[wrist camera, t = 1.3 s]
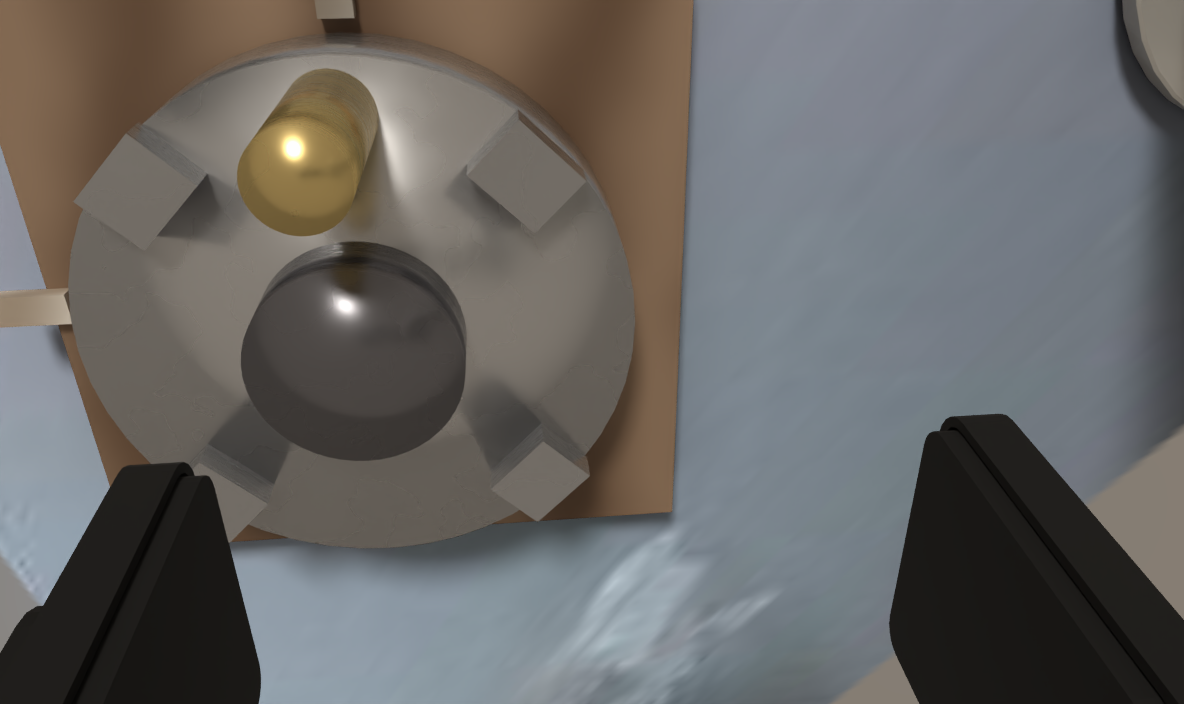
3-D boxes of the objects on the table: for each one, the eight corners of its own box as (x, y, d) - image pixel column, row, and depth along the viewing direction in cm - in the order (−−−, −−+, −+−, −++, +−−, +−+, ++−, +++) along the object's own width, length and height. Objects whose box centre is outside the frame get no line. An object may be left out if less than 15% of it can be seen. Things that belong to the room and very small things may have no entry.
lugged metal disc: (625, 24, 27) (673, 99, 20) (621, 477, 35) (655, 647, 28) (38, 40, 26) (-131, 126, 19) (171, 507, 34) (87, 692, 27)
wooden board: (682, -63, 28) (699, -53, 26) (663, 480, 38) (674, 520, 36) (-88, -47, 27) (-138, -35, 24) (101, 516, 36) (76, 561, 34)
